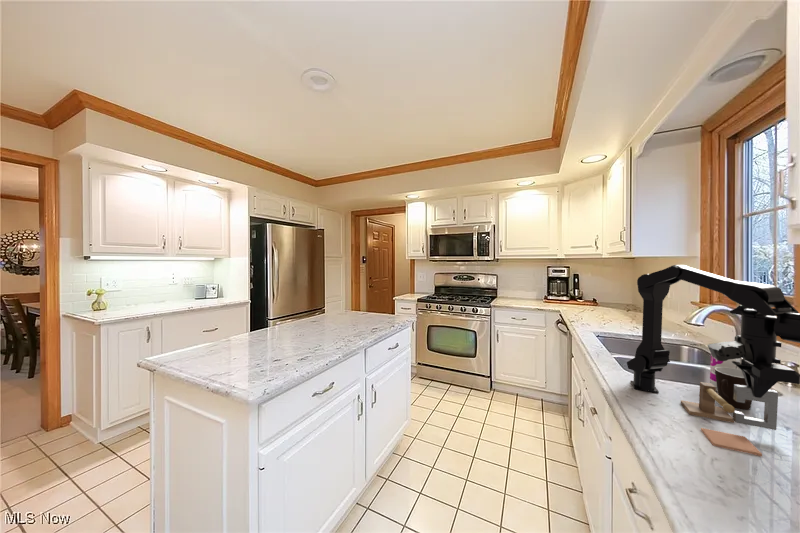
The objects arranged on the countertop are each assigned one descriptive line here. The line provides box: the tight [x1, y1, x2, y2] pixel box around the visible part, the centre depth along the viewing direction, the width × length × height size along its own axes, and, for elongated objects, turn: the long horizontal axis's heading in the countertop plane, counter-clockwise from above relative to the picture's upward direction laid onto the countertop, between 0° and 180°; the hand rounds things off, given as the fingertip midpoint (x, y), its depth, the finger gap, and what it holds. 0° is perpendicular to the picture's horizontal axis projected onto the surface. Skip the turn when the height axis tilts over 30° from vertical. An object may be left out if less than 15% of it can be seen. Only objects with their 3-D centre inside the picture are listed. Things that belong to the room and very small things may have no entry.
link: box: [732, 384, 779, 431], centre depth 73 cm, size 2×7×10 cm, turn 61°
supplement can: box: [709, 354, 741, 391], centre depth 97 cm, size 8×8×15 cm
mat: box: [700, 427, 763, 457], centre depth 72 cm, size 7×8×1 cm
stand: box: [680, 381, 736, 424], centre depth 81 cm, size 16×9×9 cm, turn 151°
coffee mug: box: [715, 367, 753, 411], centre depth 89 cm, size 12×9×10 cm
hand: (755, 395), depth 73 cm, fingers closed on link, 1 cm apart
